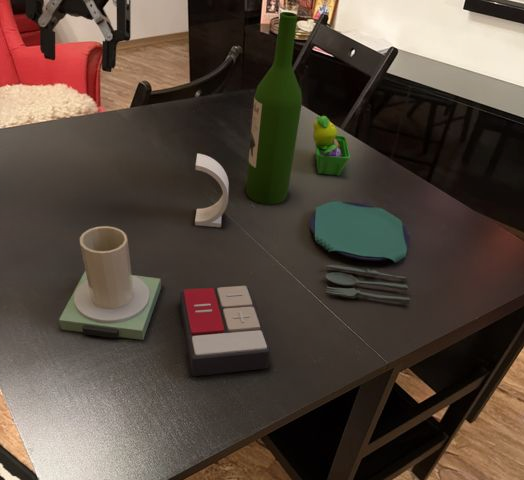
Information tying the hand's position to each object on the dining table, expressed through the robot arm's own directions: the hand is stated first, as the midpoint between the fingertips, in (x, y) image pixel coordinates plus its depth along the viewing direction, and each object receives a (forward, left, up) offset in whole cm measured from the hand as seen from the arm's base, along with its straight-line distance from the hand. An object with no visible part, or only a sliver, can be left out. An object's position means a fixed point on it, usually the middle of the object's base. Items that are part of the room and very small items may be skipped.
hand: (78, 65), depth 71 cm
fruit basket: (+43, +35, -26) cm, 61 cm away
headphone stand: (+20, +5, -26) cm, 33 cm away
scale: (+9, -23, -26) cm, 36 cm away
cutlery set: (+49, +1, -26) cm, 56 cm away
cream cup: (+9, -23, -24) cm, 34 cm away
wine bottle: (+30, +18, -26) cm, 44 cm away
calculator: (+26, -26, -26) cm, 45 cm away
